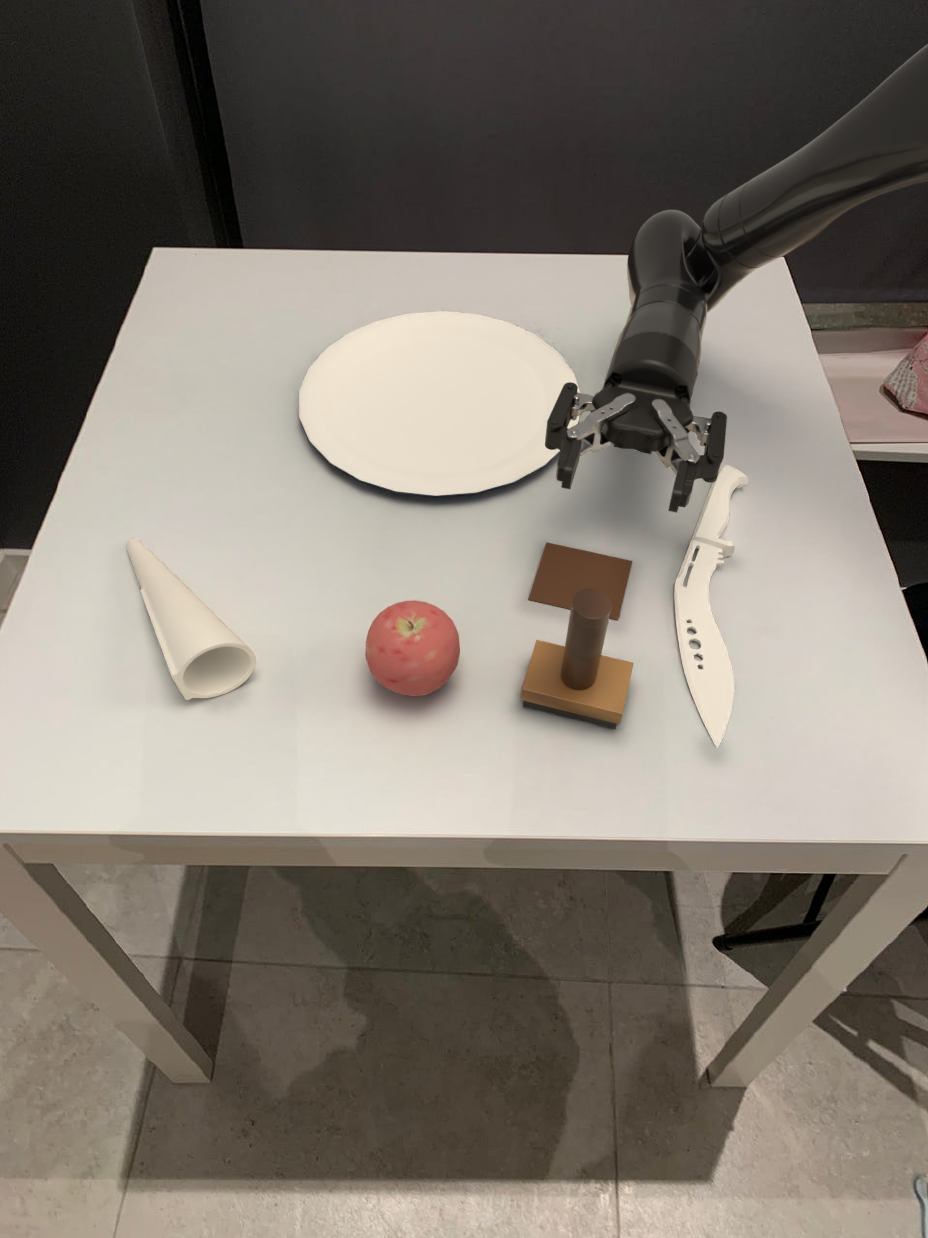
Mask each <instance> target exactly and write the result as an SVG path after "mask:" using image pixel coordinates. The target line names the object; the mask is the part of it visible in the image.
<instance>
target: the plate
mask: <svg viewBox="0 0 928 1238" xmlns="http://www.w3.org/2000/svg"><path fill="white" fill-rule="evenodd" d="M568 382H571V383H575V384H576V385H577V386H578V389H577V392H578V393H581V391H580V387H579V384H578V380H577V377H576V374H575V372H574V371H573V370H572V368H571V367H570V366H569V364H568V362H567V361H566V360H565V358H564V357H563V356H562V355H561V354H560V352H559V351H557V350H556V349H555V348H554V347H552V346H551V345H549V344H548V343H547V342H546V341H544V340H543V339H542V338H541V337H540V336H538V335H537V334H534V333H532V332H530V331H528V330H527V329H524V328H522V327H520V326H518V325H515V324H513V323H511V322H509V321H505V320H501V319H498V318H494V317H490V316H485V315H483V314H478V313H469V312H461V311H460V312H458V311H448V310H438V311H437V310H436V311H423V312H422V311H421V312H409V313H408V312H407V313H405V314H400V315H396V316H392V317H386V318H382V319H378V320H376V321H373V322H371V323H369V324H366V325H364V326H361V327H359V328H357V329H354V330H351V331H349V332H347V333H346V334H345V335H343V336H342V337H340V338H339V339H338V340H337V341H335V342H333V343H332V344H331V345H329V346H328V347H327V348H325V349H324V350H323V351H322V352H321V354H319V356H318V357H317V358H316V359H315V360H314V362H313V363H312V364H311V365H310V367H308V369H307V371H306V373H305V376H304V378H303V381H302V383H301V386H300V388H299V391H298V416H299V417H298V419H299V421H300V422H301V425H302V427H303V429H304V432H305V434H306V436H307V439H308V441H309V443H310V444H311V445H312V446H313V447H314V448H315V450H316V451H317V452H318V453H320V455H321V456H322V457H323V458H324V459H325V460H326V461H327V462H328V463H329V464H330V465H332V466H333V467H335V468H337V469H338V470H340V471H342V472H343V473H345V474H346V475H348V476H350V477H352V478H353V479H355V480H357V481H358V482H361V483H364V484H366V485H367V484H368V485H370V486H374V487H376V488H379V489H383V490H385V491H389V492H393V493H396V494H405V495H413V496H422V497H423V496H424V497H433V498H441V497H451V496H452V497H453V496H465V495H466V496H467V495H477V494H481V493H484V492H488V491H492V490H494V489H498V488H499V489H500V488H501V487H506V486H509V485H512V484H515V483H517V482H518V481H520V480H522V479H524V478H526V477H528V476H530V475H532V474H534V473H535V472H538V471H539V470H541V469H542V468H544V467H545V466H547V465H548V464H549V463H550V462H551V461H552V460H553V459H554V458H556V456H557V455H558V454H559V453H561V451H560V450H559V449H555V450H550V449H547V448H546V447H545V437H546V428H547V421H548V418H549V416H550V414H551V412H552V410H553V408H554V405H555V403H556V401H557V399H558V397H559V394H560V392H561V390H562V388H563V386H564V384H565V383H568ZM578 423H580V416H577V419H576V420H570V422H569V425H568V427H567V428H571V427H573V426H575V425H577V424H578Z"/></svg>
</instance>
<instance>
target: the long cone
mask: <svg viewBox="0 0 928 1238" xmlns="http://www.w3.org/2000/svg"><path fill="white" fill-rule="evenodd" d="M126 549H127V554H128V556H129V559H130V562H131V564H132V568H133V570H134V573H135V576H136V578H137V581H138V584H139V586H140V588H141V589H139V591H140V594H141V597H142V600H143V603H144V605H145V607H146V611H147V613H148V616H149V618H150V621H151V624H152V627H153V630H154V632H155V636H156V638H157V641H158V643H159V647H160V649H161V651H162V654H163V658H164V660H165V662H166V666H167V669H168V671H169V673H170V676H171V678H172V680H173V682H174V684H175V685H176V687H177V689H178V690H179V691H180V694H181V695H182V697H183V698H184V700H185V701H190V700H191V699H210V698H215V697H219V696H222V695H225V694H228V693H230V692H232V691H234V690H235V689H238V687H240V686H241V685H242V684H244V683H245V682H246V681H247V680H248V679H249V678H250V677H251V675H252V674H253V672H254V670H255V667H256V663H257V658H256V654H255V652H254V650H253V649H252V648H251V647H250V646H249V645H247V643H246V642H245V641H244V640H243V639H242V638H241V637H240V636H238V634H237V633H236V632H235V631H234V630H233V629H231V628H230V627H229V626H228V625H227V623H225V622H224V621H223V620H222V619H221V618H220V617H219V616H218V615H217V614H216V613H215V612H214V611H213V610H212V609H211V608H210V607H209V606H208V605H207V604H206V603H205V602H204V601H203V600H202V599H201V598H200V597H199V596H198V595H197V594H196V593H195V592H194V591H193V590H192V589H191V588H190V587H189V586H188V585H187V584H186V583H185V582H184V581H182V580H181V578H180V577H179V576H177V574H176V573H175V572H173V570H172V569H171V568H170V567H169V566H167V564H165V562H164V561H163V560H161V558H160V557H158V555H156V554H155V552H153V550H151V549H150V548H149V547H148V546H147V545H146V544H145V543H144V542H143V541H141V540H140V539H138V538H136V537H132V536H131V537H128V538H127V540H126Z"/></svg>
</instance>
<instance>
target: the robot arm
mask: <svg viewBox="0 0 928 1238" xmlns="http://www.w3.org/2000/svg"><path fill="white" fill-rule="evenodd" d="M925 182H928V43H927V44H926V45H924V46H923V47H922V48H920V49H919V50H918V51H917V52H916V53H915V54H913V55H912V56H910V58H908V59H907V60H906V61H905V62H904V63H903V64H901V65H900V66H899V67H898V68H896V70H895V71H893V72H892V73H891V74H890V75H889V76H888V77H887V78H886V79H885V80H883V82H881V83H880V84H879V85H878V86H877V87H876V88H875V89H874V90H873V91H871V92H870V93H869V94H868V95H866V97H864V98H863V99H862V100H861V101H860V102H859V103H858V104H856V105H855V106H854V107H852V109H850V110H849V111H848V112H847V113H846V114H844V115H843V116H842V117H841V118H840V119H839V118H838V120H837V121H836V122H834V123H833V124H832V125H830V126H829V127H828V128H827V129H825V130H824V131H823V132H822V133H820V134H819V135H818V136H816V137H815V138H814V139H813V140H811V141H810V142H808V143H807V144H805V145H804V146H802V147H801V148H800V149H798V150H797V151H795V152H793V153H792V154H790V155H789V156H788V157H786V158H784V159H782V160H781V161H780V162H778V163H776V164H775V165H773V166H771V167H769V168H767V169H766V170H764V171H763V172H761V173H759V174H757V175H756V176H754V177H752V178H751V179H749V180H747V181H746V182H744V183H743V184H741V185H739V186H738V187H736V188H735V189H733V190H731V191H729V192H728V193H726V194H725V195H723V196H722V197H720V198H718V199H717V200H716V201H714V203H712V204H711V206H709V208H708V209H707V211H706V212H705V213H704V215H703V218H702V222H701V227H700V225H699V224H698V223H697V222H696V221H695V220H694V219H693V218H692V217H691V216H690V215H688V214H687V213H685V212H684V211H681V210H678V209H665V210H662V211H659V212H657V213H655V214H653V215H652V216H650V217H649V218H648V219H647V220H646V221H644V222H643V224H642V225H641V226H640V228H638V230H637V232H636V233H635V235H634V237H633V240H632V241H631V244H630V247H629V251H628V256H627V262H626V274H627V285H628V294H629V295H628V297H629V302H630V308H629V312H628V315H627V319H626V321H625V324H624V326H623V328H622V330H621V331H620V334H619V335H618V338H617V341H616V344H615V347H614V350H613V353H612V356H611V359H610V363H609V366H608V369H607V372H606V376H605V379H604V382H603V385H602V388H601V389H600V390H599V391H598V392H596V394H594V395H590V394H586V393H582V392H580V393H578V392H577V389H578V387H579V385H578V386H577V385H576V384H575V383H571V382H568V383H565V384H564V386H563V388H562V390H561V392H560V394H559V397H558V399H557V401H556V403H555V405H554V408H553V410H552V412H551V414H550V416H549V418H548V421H547V428H546V437H545V447H546V448H547V449H550V450H555V449H559V450H560V452H559V453H560V454H559V456H558V459H557V462H556V471H555V472H556V473H555V479H556V481H558V482H561V486H560V487H561V489H565V490H571V488H572V485H573V482H574V479H575V475H576V472H577V469H578V466H579V462H580V458H581V457H582V456H584V455H586V454H587V453H589V452H592V453H597V452H599V451H601V450H602V449H604V448H606V447H608V446H610V445H612V444H613V448H617V449H621V450H634V451H637V452H639V453H642V454H647V455H651V454H652V453H655V455H656V456H657V457H658V459H659V460H660V462H661V463H662V464H663V465H664V467H665V468H667V469H668V468H669V469H671V471H672V472H673V474H674V475H675V479H674V483H673V487H672V491H671V496H670V499H669V500H670V501H669V505H668V512H672V513H676V514H677V513H678V510H679V508H684V509H685V508H686V507H687V506H688V505H689V502H690V499H691V496H692V492H693V488H694V483H695V481H696V480H698V479H699V480H700V479H702V481H704V482H705V483H709V484H712V483H713V482H715V481H716V480H717V477H718V472H719V470H720V469H721V465H722V463H723V461H724V457H725V445H726V434H727V422H728V416H727V414H726V413H725V412H724V411H714V412H712V414H711V416H710V417H711V418H710V417H706V416H705V417H704V416H699V415H694V413H693V411H692V410H691V403H692V399H693V394H694V389H695V386H696V385H695V384H696V380H697V377H698V376H699V375H698V374H699V366H700V362H701V357H702V340H703V336H704V331H705V326H706V320H707V315H708V313H710V312H711V311H713V309H714V308H716V307H717V306H718V305H719V304H720V303H721V302H722V301H723V300H724V299H725V297H726V296H727V295H728V294H729V293H730V292H731V291H732V290H733V289H734V288H735V287H736V286H737V285H738V284H739V283H741V282H742V281H744V279H745V278H746V277H748V276H749V275H751V274H752V273H753V272H754V271H756V270H757V269H760V268H761V267H763V266H765V265H767V264H770V263H772V262H774V261H776V260H778V259H780V258H783V257H785V256H786V255H788V254H790V253H792V252H794V251H796V250H798V249H799V248H802V247H803V246H805V245H807V244H808V243H810V242H811V241H813V240H814V239H815V238H817V237H818V236H820V235H821V234H822V233H823V232H825V231H826V230H827V229H828V228H829V227H831V226H832V225H833V224H834V223H835V222H836V221H838V219H839V218H840V217H842V216H843V215H844V214H845V213H847V212H849V211H851V210H853V209H854V208H856V207H857V206H860V205H861V204H864V203H865V202H868V201H870V200H872V199H875V198H877V197H879V196H883V195H884V194H888V193H890V192H894V191H897V190H900V189H904V188H907V187H911V186H914V185H918V184H922V183H925ZM584 412H590V413H588V414H587V416H586V417H585V419H584V420H582V421H579V423H578V424H577V425H575V426H573V427H571V428H567V427H568V425H569V422H570V420H576V419H577V416H579V417H580V416H581V414H583V413H584ZM690 432H691V433H694V434H695V435H696V438H697V440H698V441H699V446H701V447H704V452H703V454H699V452H698V451H697V449H696V448H695V447H694V446H693V445H692V443H691V442H690V439H689V433H690Z"/></svg>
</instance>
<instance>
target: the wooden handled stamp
mask: <svg viewBox="0 0 928 1238" xmlns="http://www.w3.org/2000/svg"><path fill="white" fill-rule="evenodd" d="M611 607H612V604H611V600H610V598H609V597H608V596H607V595H606V594H605V593H604V592H602V591H600V590H597V589H592V588H588V589H583V590H581V591H579V592H577V593H576V594H575V596H574V597H573V600H572V606H571V610H570V613H569V619H568V624H567V631H566V637H565V642H564V645H560V644H557V643H553V642H548V641H544V640H540V639H536V640H535V643H534V646H533V650H532V652H531V656H530V660H529V662H528V665H527V669H526V671H525V672H526V673H525V676H524V679H523V683H522V685H521V690H520V691H521V692H520V701H522V707H523V708H524V707H525V708H528V709H532V710H536V711H541V712H543V713H549V714H553V715H556V716H560V717H565V718H569V719H573V720H577V721H580V722H585V723H589V724H592V725H596V726H600V727H604V728H609V729H612V730H616V729H617V726H618V725H620V724H621V723H622V717H623V714H624V710H625V706H626V701H627V697H628V692H629V687H630V682H631V679H632V674H633V669H634V664H635V663H634V662H632V661H628V660H623V659H619V658H615V657H611V656H607V655H603V654H602V653H603V649H604V644H605V639H606V636H607V635H606V634H607V629H608V625H609V622H610V619H609V616H610V612H611Z"/></svg>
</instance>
